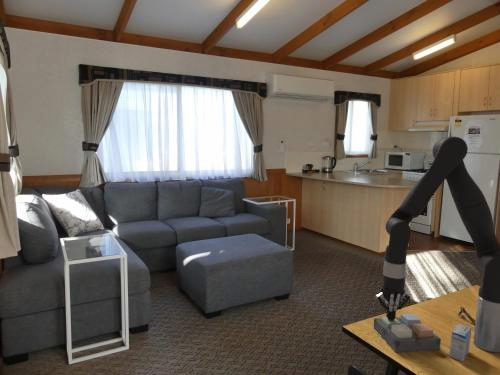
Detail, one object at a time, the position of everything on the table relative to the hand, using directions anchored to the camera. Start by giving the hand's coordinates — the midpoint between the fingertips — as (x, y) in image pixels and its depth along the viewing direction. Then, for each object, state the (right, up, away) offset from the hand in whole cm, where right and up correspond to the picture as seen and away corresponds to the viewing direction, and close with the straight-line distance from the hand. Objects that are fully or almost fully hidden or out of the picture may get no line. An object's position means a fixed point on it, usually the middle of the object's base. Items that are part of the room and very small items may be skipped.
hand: (390, 319), depth 140 cm
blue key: (+8, -2, +1) cm, 8 cm away
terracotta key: (+9, -3, -6) cm, 11 cm away
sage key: (0, -2, 0) cm, 3 cm away
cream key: (+1, -3, -7) cm, 8 cm away
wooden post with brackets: (+35, -5, +13) cm, 37 cm away
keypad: (+4, -6, -2) cm, 8 cm away
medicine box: (+19, -8, -11) cm, 23 cm away
